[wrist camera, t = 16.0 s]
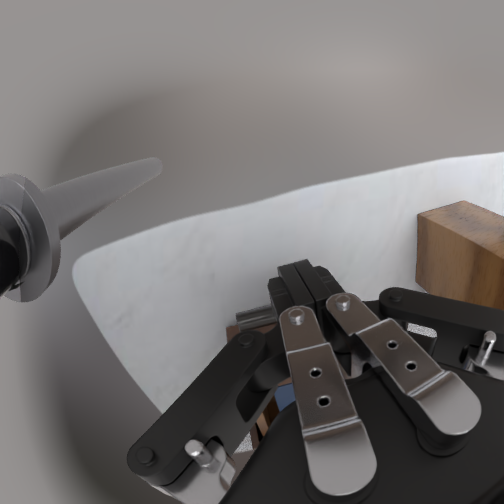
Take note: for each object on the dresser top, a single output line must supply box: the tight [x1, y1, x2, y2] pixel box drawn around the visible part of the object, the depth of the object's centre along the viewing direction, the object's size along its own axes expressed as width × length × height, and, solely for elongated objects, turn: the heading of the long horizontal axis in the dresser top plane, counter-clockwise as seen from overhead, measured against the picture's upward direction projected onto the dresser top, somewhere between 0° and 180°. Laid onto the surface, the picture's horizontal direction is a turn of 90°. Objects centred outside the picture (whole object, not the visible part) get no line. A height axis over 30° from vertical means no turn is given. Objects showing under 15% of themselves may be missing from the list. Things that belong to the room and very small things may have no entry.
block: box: [274, 383, 295, 412], centre depth 23 cm, size 5×5×5 cm
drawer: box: [226, 304, 345, 437], centre depth 23 cm, size 17×10×7 cm, turn 12°
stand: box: [416, 201, 504, 310], centre depth 18 cm, size 8×8×16 cm
